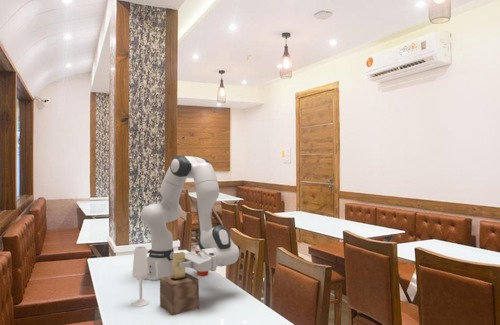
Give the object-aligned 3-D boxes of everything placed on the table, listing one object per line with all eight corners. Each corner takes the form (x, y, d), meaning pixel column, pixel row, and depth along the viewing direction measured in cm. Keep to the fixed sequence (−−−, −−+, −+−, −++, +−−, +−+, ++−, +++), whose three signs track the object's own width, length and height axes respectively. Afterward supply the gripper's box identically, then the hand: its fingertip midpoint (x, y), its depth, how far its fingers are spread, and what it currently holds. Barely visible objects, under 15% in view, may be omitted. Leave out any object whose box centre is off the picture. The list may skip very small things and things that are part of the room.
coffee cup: (195, 277, 198) (195, 248, 198) (194, 272, 206) (193, 245, 206) (211, 275, 200) (211, 247, 200) (209, 271, 208) (208, 244, 208)
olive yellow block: (182, 275, 160) (182, 251, 160) (185, 276, 157) (185, 252, 157) (172, 277, 157) (172, 253, 157) (175, 278, 155) (175, 254, 155)
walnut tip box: (185, 299, 166) (185, 272, 166) (198, 308, 156) (198, 279, 156) (160, 305, 158) (159, 277, 159) (171, 315, 149) (171, 284, 149)
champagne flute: (142, 299, 167) (142, 245, 167) (152, 302, 162) (151, 247, 162) (129, 303, 161) (129, 247, 161) (138, 307, 157) (138, 250, 157)
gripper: (195, 247, 173) (166, 252, 165) (217, 256, 157) (187, 261, 148) (195, 261, 173) (166, 266, 165) (218, 271, 157) (187, 277, 148)
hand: (176, 264), depth 157 cm, fingers closed on olive yellow block, 2 cm apart
